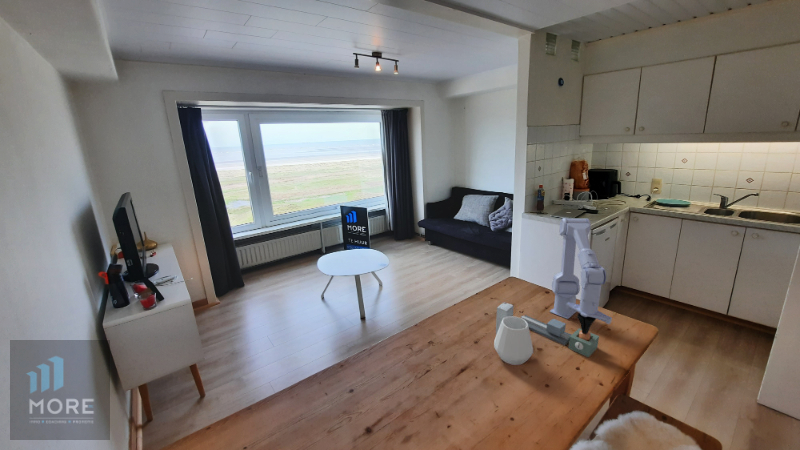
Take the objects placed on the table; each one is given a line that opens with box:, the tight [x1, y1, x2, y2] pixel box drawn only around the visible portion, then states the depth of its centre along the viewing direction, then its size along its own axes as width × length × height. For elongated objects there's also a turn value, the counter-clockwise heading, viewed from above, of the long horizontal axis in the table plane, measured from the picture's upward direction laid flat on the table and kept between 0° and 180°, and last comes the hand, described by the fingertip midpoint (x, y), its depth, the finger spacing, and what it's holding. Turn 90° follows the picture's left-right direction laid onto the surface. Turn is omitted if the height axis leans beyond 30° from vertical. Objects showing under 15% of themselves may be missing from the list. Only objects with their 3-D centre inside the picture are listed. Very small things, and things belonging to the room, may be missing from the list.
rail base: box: [520, 315, 572, 347], centre depth 131 cm, size 7×20×2 cm, turn 40°
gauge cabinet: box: [568, 327, 600, 358], centre depth 120 cm, size 8×7×5 cm
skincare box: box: [495, 301, 514, 335], centre depth 130 cm, size 6×4×12 cm
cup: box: [493, 315, 534, 366], centre depth 116 cm, size 13×13×14 cm
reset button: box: [579, 330, 591, 342], centre depth 119 cm, size 4×4×4 cm
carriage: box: [546, 318, 567, 337], centre depth 127 cm, size 5×5×4 cm
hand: (585, 332), depth 119 cm, fingers closed
